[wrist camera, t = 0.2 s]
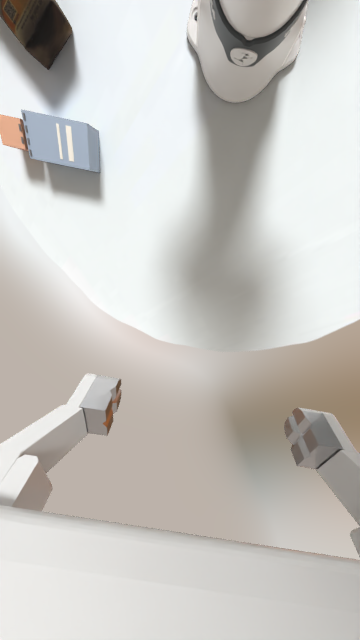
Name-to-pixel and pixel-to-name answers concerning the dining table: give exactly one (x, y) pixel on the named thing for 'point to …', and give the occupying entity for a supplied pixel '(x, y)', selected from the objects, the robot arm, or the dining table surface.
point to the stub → (13, 132)
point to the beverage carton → (37, 27)
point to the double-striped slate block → (62, 141)
